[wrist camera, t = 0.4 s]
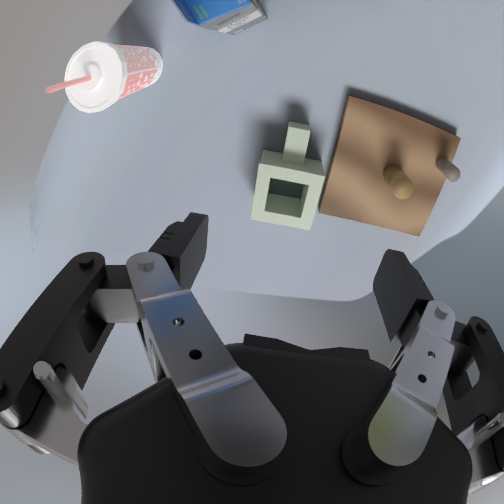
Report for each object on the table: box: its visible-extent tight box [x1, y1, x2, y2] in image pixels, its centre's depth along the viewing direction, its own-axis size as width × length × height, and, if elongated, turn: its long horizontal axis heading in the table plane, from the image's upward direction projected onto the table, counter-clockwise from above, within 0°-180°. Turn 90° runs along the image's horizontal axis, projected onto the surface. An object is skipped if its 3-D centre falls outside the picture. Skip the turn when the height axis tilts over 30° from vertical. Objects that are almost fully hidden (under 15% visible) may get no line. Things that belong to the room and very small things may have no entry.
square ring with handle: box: [251, 121, 325, 230], centre depth 27 cm, size 10×6×4 cm, turn 173°
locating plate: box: [318, 95, 461, 236], centre depth 25 cm, size 13×13×4 cm
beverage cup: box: [45, 41, 163, 113], centre depth 17 cm, size 6×6×14 cm
